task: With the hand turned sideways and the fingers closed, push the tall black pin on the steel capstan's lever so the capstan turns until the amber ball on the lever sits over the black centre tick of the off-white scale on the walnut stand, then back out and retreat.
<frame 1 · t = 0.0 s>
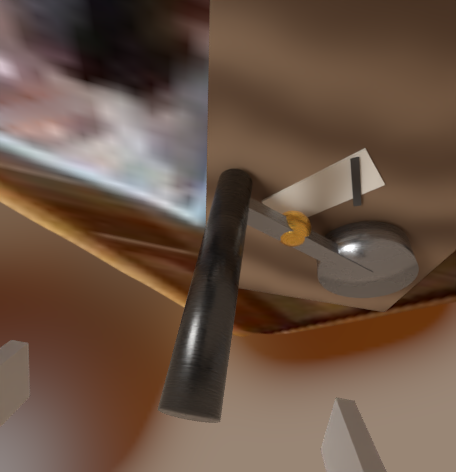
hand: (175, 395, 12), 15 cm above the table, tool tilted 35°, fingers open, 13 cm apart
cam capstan: (320, 309, 17), point 9 cm above the table, hinge at 40.0°
level stand: (334, 202, 22), on the table
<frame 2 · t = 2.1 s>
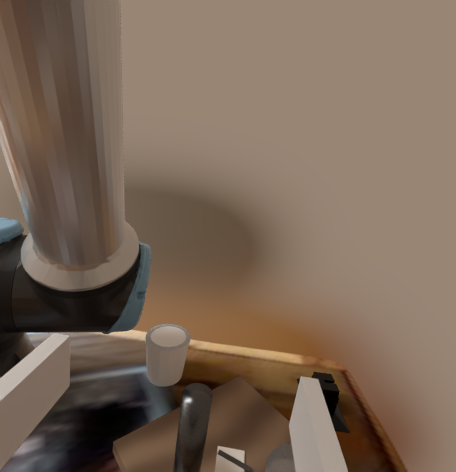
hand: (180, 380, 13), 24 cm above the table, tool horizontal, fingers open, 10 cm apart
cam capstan: (264, 448, 26), point 9 cm above the table, hinge at 40.0°
shot glass: (164, 374, 46), on the table
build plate: (319, 406, 44), on the table
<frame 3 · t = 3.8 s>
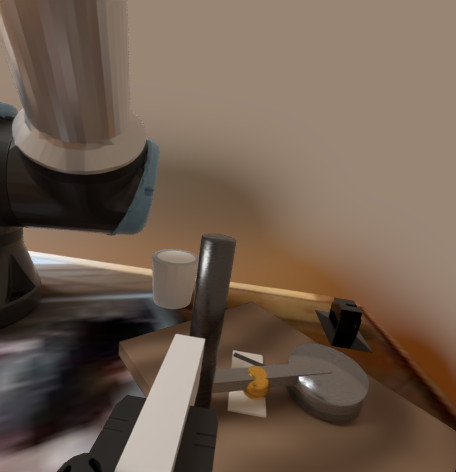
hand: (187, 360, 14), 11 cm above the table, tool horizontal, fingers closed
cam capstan: (290, 325, 23), point 9 cm above the table, hinge at 40.0°
shot glass: (172, 300, 43), on the table
level stand: (272, 398, 27), on the table
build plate: (339, 333, 42), on the table
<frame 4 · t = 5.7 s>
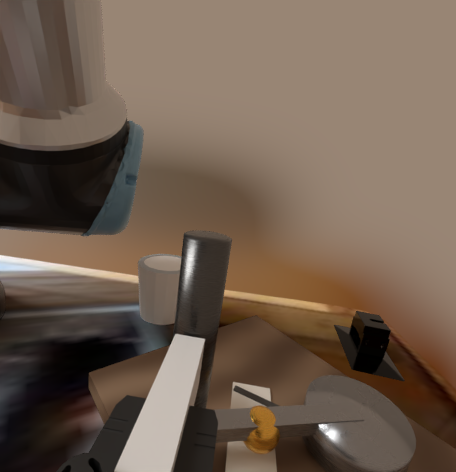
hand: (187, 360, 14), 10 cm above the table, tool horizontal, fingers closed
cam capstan: (308, 355, 17), point 9 cm above the table, hinge at 36.0°, touching gripper
shot glass: (162, 314, 37), on the table
level stand: (284, 449, 21), on the table
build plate: (362, 353, 35), on the table
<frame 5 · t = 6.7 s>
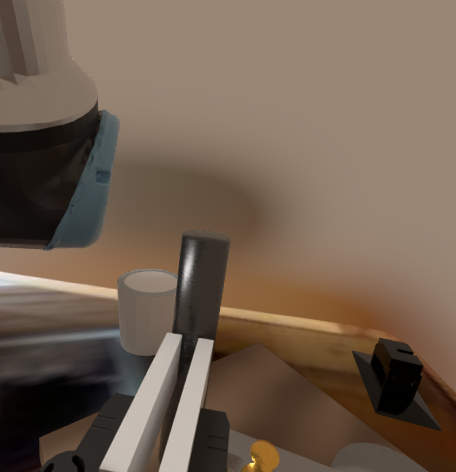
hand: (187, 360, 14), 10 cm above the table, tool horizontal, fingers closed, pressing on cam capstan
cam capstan: (323, 401, 14), point 9 cm above the table, hinge at 8.4°, touching gripper
shot glass: (147, 340, 31), on the table
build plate: (387, 389, 30), on the table
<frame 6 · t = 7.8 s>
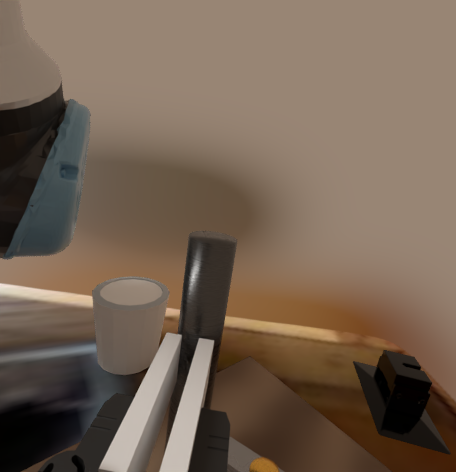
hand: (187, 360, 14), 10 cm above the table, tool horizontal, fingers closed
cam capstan: (327, 427, 13), point 9 cm above the table, hinge at -6.0°, touching gripper
shot glass: (128, 355, 28), on the table
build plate: (391, 406, 28), on the table
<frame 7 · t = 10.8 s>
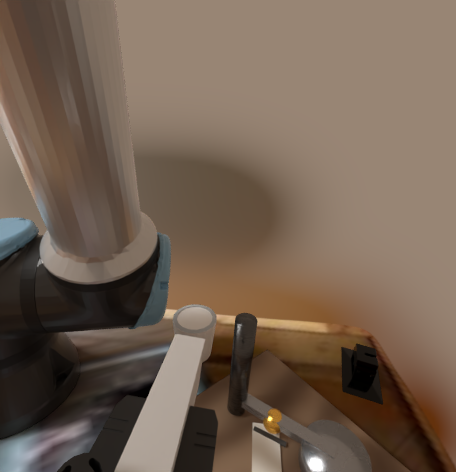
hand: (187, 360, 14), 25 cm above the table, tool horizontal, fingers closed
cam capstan: (298, 398, 30), point 9 cm above the table, hinge at -6.4°
shot glass: (194, 351, 47), on the table
level stand: (289, 470, 32), on the table
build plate: (359, 376, 45), on the table
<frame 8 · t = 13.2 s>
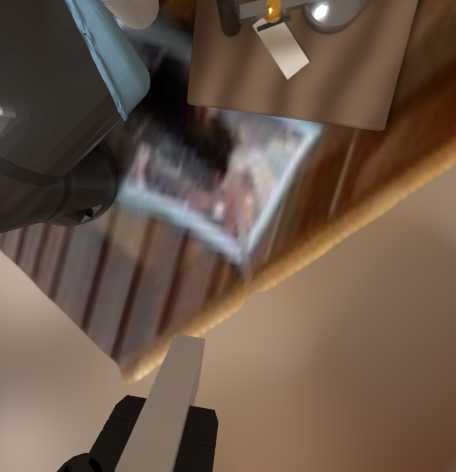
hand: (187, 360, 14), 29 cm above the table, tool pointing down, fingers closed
shot glass: (138, 5, 37), on the table
level stand: (297, 34, 36), on the table
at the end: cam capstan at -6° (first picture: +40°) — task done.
